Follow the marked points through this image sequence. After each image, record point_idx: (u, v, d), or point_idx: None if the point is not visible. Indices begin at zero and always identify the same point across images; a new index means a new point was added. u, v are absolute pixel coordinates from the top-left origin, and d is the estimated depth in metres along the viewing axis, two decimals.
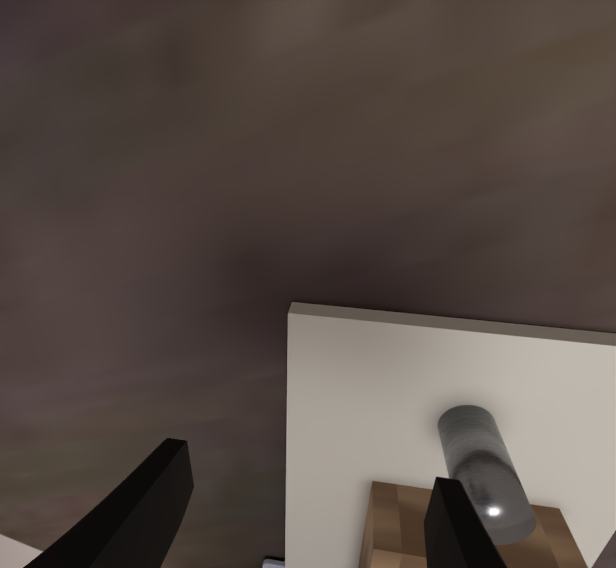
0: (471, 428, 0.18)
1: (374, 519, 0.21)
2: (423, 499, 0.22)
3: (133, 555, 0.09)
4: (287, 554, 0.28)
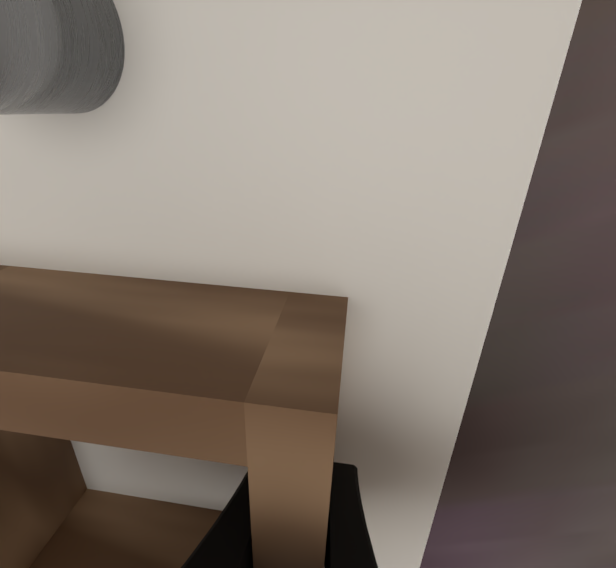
0: None
1: None
2: (38, 282, 0.10)
3: None
4: None
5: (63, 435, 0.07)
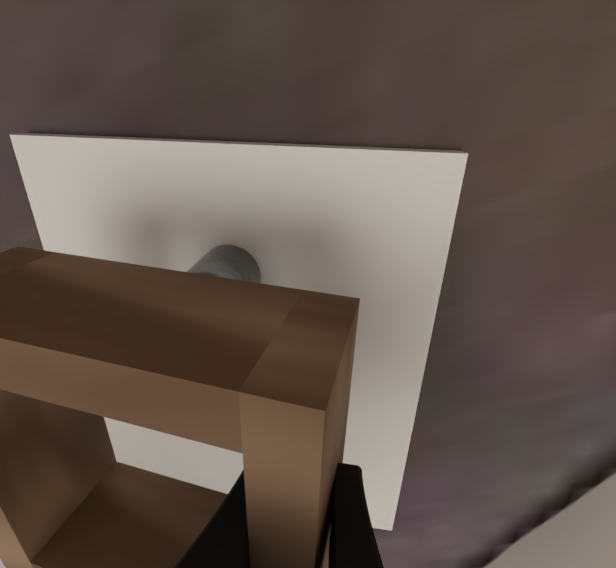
0: (208, 257, 0.16)
1: None
2: (77, 268, 0.10)
3: None
4: None
5: (84, 407, 0.08)
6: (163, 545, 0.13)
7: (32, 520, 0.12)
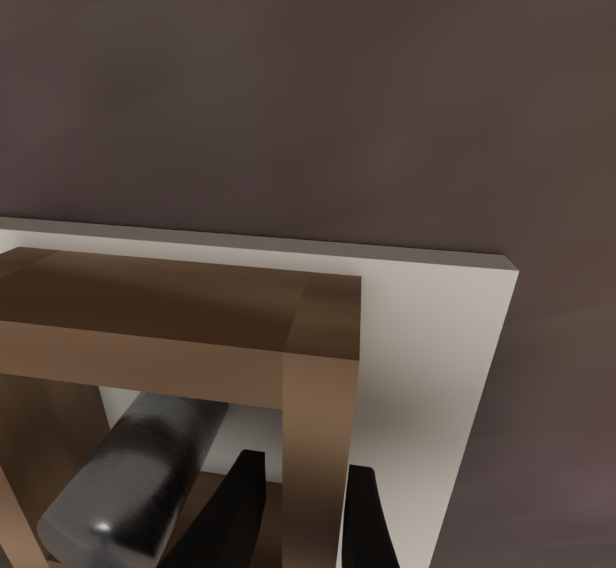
0: (151, 395, 0.12)
1: None
2: (89, 263, 0.11)
3: None
4: None
5: (127, 385, 0.08)
6: (179, 528, 0.13)
7: None
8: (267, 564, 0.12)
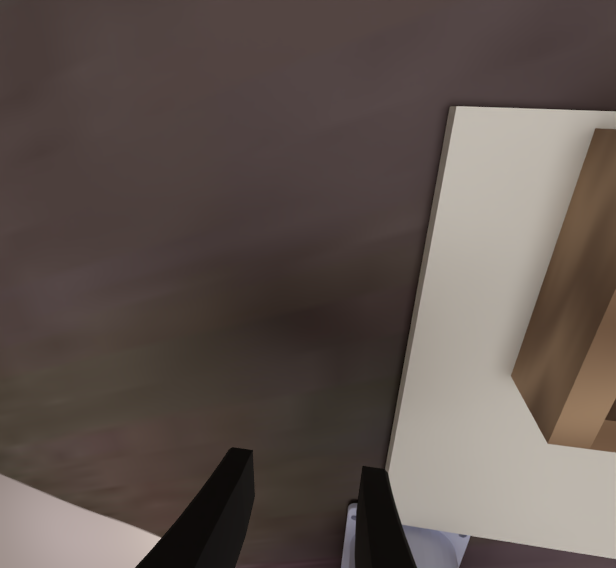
0: None
1: None
2: None
3: None
4: None
5: None
6: None
7: None
8: None
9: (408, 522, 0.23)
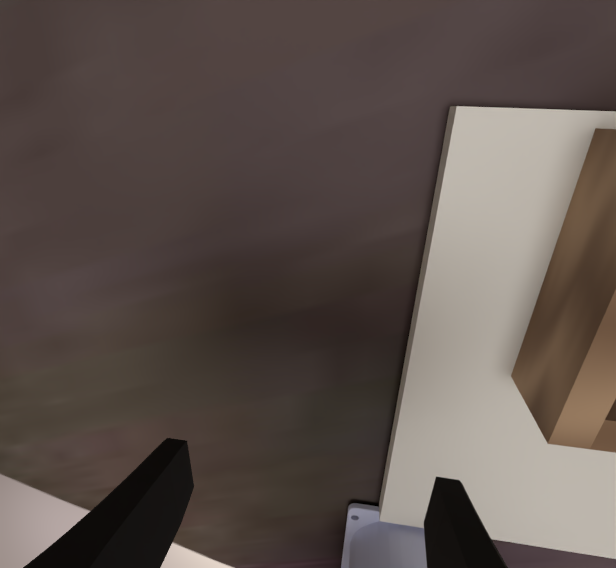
0: None
1: None
2: None
3: (133, 555, 0.09)
4: (388, 491, 0.22)
5: None
6: None
7: None
8: None
9: (408, 522, 0.23)
